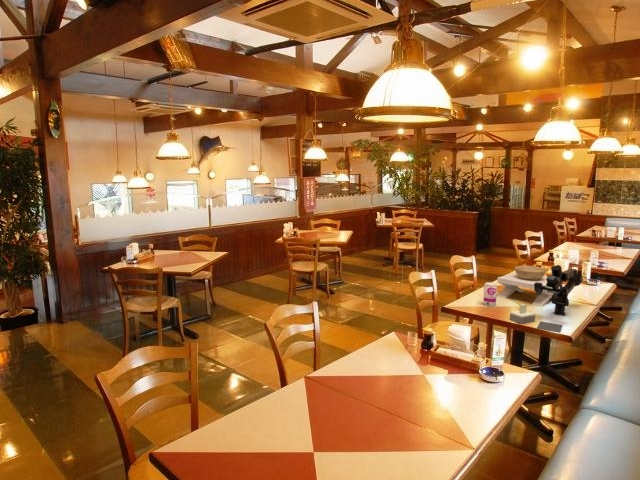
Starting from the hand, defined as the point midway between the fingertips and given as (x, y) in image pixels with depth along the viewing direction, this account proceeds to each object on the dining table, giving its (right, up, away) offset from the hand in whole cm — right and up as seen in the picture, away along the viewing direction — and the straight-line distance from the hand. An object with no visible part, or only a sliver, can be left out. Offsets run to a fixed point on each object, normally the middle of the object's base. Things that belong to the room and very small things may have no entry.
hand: (545, 296), depth 260 cm
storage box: (-11, -15, +6) cm, 20 cm away
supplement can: (-18, -11, +38) cm, 44 cm away
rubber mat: (0, -17, -5) cm, 18 cm away
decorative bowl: (+17, -8, +56) cm, 59 cm away
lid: (-11, -11, +5) cm, 17 cm away
